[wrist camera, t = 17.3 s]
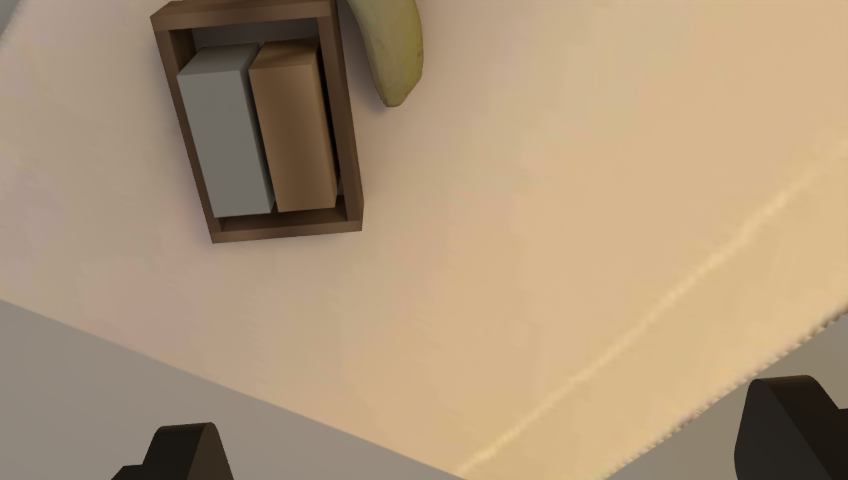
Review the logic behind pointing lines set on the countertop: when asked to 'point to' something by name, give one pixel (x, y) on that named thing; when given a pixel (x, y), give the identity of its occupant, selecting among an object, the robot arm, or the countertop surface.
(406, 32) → the fruit
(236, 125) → the offcut grey
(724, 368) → the countertop surface
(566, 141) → the countertop surface
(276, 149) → the offcut teak
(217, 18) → the wooden tray
